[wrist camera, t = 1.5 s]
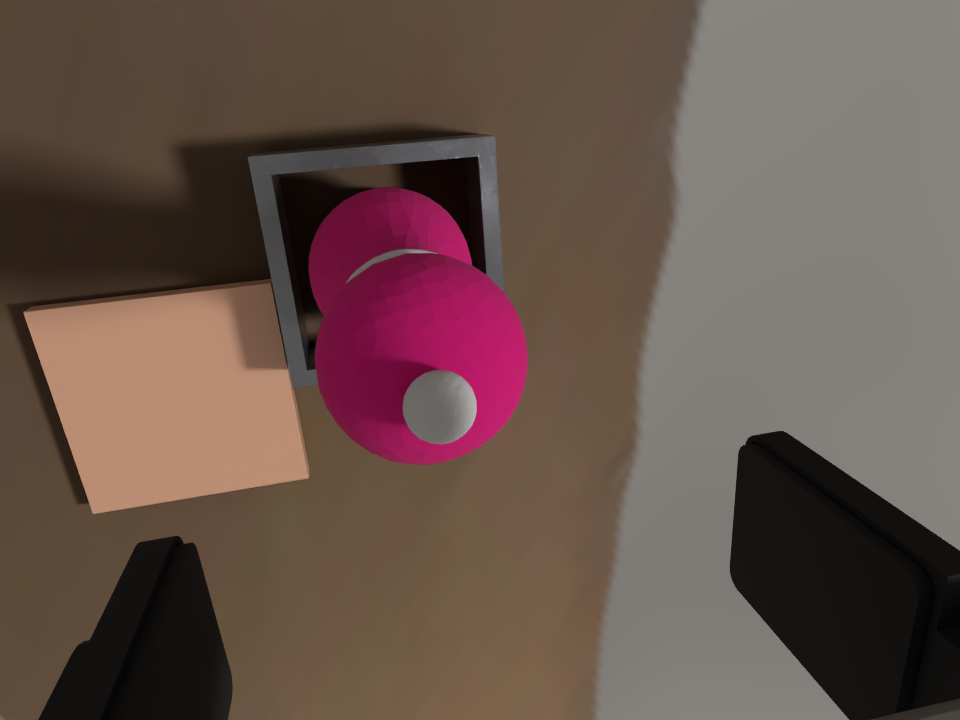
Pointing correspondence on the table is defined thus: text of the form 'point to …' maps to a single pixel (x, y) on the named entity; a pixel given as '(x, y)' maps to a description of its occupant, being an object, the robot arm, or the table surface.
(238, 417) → the plate
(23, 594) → the table surface
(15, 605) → the table surface
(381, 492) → the table surface
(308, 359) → the holder sleeve
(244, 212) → the table surface
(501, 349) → the pepper mill
